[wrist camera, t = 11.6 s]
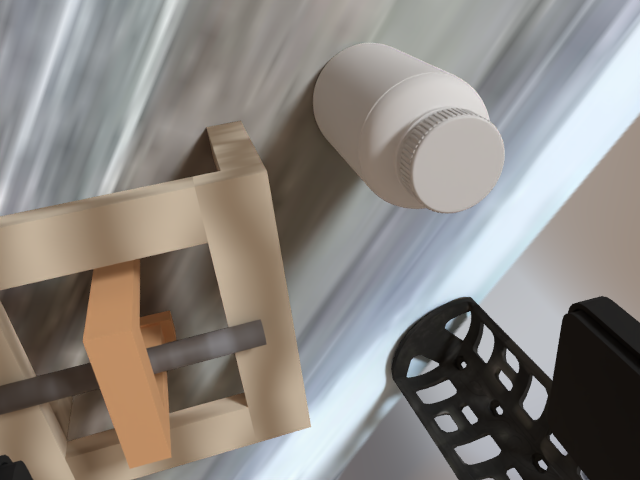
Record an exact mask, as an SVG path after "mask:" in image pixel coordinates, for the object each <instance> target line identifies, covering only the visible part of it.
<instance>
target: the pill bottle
mask: <svg viewBox="0 0 640 480" xmlns="http://www.w3.org/2000/svg"><path fill="white" fill-rule="evenodd" d="M313 110H314V116H315V119H316V122H317V124H318V126H319V129H320V130H321V132H322V134H323V135H324V137H325V138H326V139H327V140H328V141H329V143H330V144H331V145H332V146H333V147H334V148H335V149H336V150H337V152H338V153H339V154H340V155H341V156H342V157H343V158H344V160H345V161H346V162H347V163H348V164H349V165H350V166H351V168H352V169H353V170H354V171H355V172H356V173H357V174H358V175H359V177H360V178H361V179H362V180H363V181H364V182H365V183H366V185H367V186H368V187H369V188H370V189H371V190H372V191H373V192H374V193H375V194H376V195H377V196H379V197H380V198H381V199H383V200H385V201H386V202H388V203H390V204H393V205H396V206H400V207H404V208H411V209H422V208H428V209H429V210H432V211H434V212H435V211H436V212H438V213H439V212H440V213H456V212H460V211H463V210H466V209H468V208H470V207H472V206H474V205H476V204H477V203H479V202H480V201H481V200H482V199H484V198H485V197H486V196H487V195H488V194H489V193H490V191H491V190H492V189H493V187H494V186H495V184H496V183H497V181H498V179H499V177H500V175H501V172H502V169H503V165H504V157H505V152H504V143H503V139H502V138H501V135H500V134H499V133H500V132H499V131H498V130H497V128H496V127H495V125H494V124H492V123H491V122H490V120H489V116H488V112H487V110H486V107H485V105H484V103H483V101H482V99H481V98H480V96H479V95H478V93H477V92H476V91H475V90H474V88H473V87H472V86H470V85H469V84H468V83H467V82H465V81H464V80H462V79H461V78H459V77H457V76H455V75H453V74H451V73H448V72H446V71H444V70H442V69H440V68H437V67H435V66H433V65H431V64H428V63H426V62H424V61H422V60H420V59H417V58H415V57H413V56H411V55H408V54H406V53H404V52H402V51H400V50H397V49H395V48H393V47H391V46H388V45H384V44H379V43H361V44H356V45H353V46H350V47H348V48H346V49H344V50H342V51H341V52H339V53H338V54H336V55H335V56H334V57H333V58H332V59H331V60H330V61H329V62H328V63H327V64H326V66H325V67H324V68H323V70H322V71H321V73H320V75H319V77H318V79H317V82H316V85H315V89H314V94H313Z"/></svg>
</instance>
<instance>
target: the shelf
mask: <svg viewBox="0 0 640 480" xmlns="http://www.w3.org/2000/svg"><path fill="white" fill-rule="evenodd" d="M206 128H207V132H208V137H209V142H210V146H211V151H212V155H213V160H214V163H215V166H216V169H217V172H213V173H208V174H203V175H198V176H193V177H189V178H184V179H179V180H174V181H169V182H165V183H160V184H155V185H150V186H145V187H140V188H136V189H131V190H126V191H121V192H116V193H112V194H107V195H102V196H97V197H92V198H87V199H83V200H78V201H73V202H68V203H63V204H59V205H54V206H49V207H44V208H39V209H34V210H30V211H25V212H20V213H15V214H10V215H6V216H1V217H0V290H4V289H8V288H12V287H17V286H21V285H26V284H30V283H34V282H39V281H43V280H47V279H52V278H56V277H61V276H65V275H69V274H74V273H78V272H82V271H87V270H91V269H96V268H100V267H104V266H109V265H113V264H117V263H122V262H126V261H131V260H135V259H139V258H144V257H148V256H152V255H157V254H161V253H165V252H170V251H174V250H179V249H183V248H187V247H192V246H196V245H200V244H205V243H208V244H209V248H210V252H211V257H212V261H213V265H214V269H215V273H216V277H217V281H218V285H219V289H220V294H221V298H222V302H223V306H224V310H225V314H226V318H227V322H228V328H224V329H220V330H216V331H212V332H208V333H204V334H200V335H197V336H193V337H189V338H185V339H181V340H177V341H173V342H169V343H165V344H161V345H158V346H154V347H150V348H146V350H147V353H148V356H149V360H150V363H151V366H152V370H153V373H154V374H157V373H161V372H165V371H168V370H172V369H176V368H180V367H184V366H187V365H191V364H195V363H199V362H203V361H206V360H210V359H214V358H218V357H221V356H225V355H229V354H233V353H235V355H236V360H237V364H238V368H239V372H240V376H241V380H242V384H243V388H244V393H241V394H237V395H233V396H230V397H226V398H223V399H219V400H215V401H212V402H208V403H205V404H201V405H197V406H194V407H190V408H186V409H183V410H179V411H176V412H172V413H169V421H170V439H171V457H172V458H168V459H164V460H161V461H157V462H153V463H150V464H146V465H142V466H139V467H135V468H131V469H130V468H129V466H128V463H127V460H126V457H125V455H124V452H123V449H122V447H121V444H120V441H119V438H118V436H117V433H116V430H115V428H114V429H111V430H107V431H104V432H100V433H96V434H93V435H89V436H86V437H82V438H78V439H75V440H71V441H67V434H68V427H69V421H70V414H71V407H72V400H73V398H72V396H74V395H78V394H81V393H85V392H89V391H93V390H97V389H100V387H99V384H98V381H97V379H96V376H95V373H94V371H93V368H92V365H91V363H87V364H83V365H79V366H75V367H72V368H68V369H64V370H60V371H56V372H52V373H48V374H44V375H40V376H36V374H35V372H34V370H33V368H32V366H31V364H30V362H29V360H28V357H27V355H26V353H25V351H24V349H23V347H22V345H21V343H20V341H19V339H18V337H17V334H16V332H15V330H14V328H13V326H12V324H11V322H10V320H9V318H8V316H7V313H6V311H5V309H4V307H3V305H2V303H1V301H0V456H1V455H7V456H9V458H10V459H11V460H12V462H16V461H20V460H21V461H23V462H24V463H25V465H26V467H27V469H28V470H29V472H30V474H31V476H32V478H33V480H132V479H135V478H139V477H142V476H146V475H149V474H152V473H156V472H159V471H163V470H166V469H169V468H173V467H176V466H180V465H183V464H186V463H190V462H193V461H197V460H200V459H203V458H207V457H210V456H214V455H217V454H220V453H224V452H227V451H231V450H234V449H237V448H241V447H244V446H248V445H251V444H254V443H258V442H261V441H265V440H268V439H271V438H275V437H278V436H282V435H285V434H288V433H292V432H295V431H299V430H302V429H305V428H309V427H311V424H310V418H309V412H308V407H307V401H306V395H305V389H304V383H303V378H302V372H301V366H300V360H299V354H298V348H297V343H296V337H295V331H294V325H293V319H292V314H291V308H290V302H289V296H288V290H287V284H286V279H285V273H284V267H283V261H282V255H281V250H280V244H279V238H278V232H277V226H276V221H275V215H274V209H273V203H272V197H271V191H270V186H269V180H268V174H267V170H266V168H265V167H264V165H263V163H262V161H261V159H260V157H259V155H258V153H257V151H256V149H255V147H254V145H253V144H252V142H251V140H250V138H249V136H248V134H247V132H246V130H245V128H244V126H243V124H242V122H241V121H237V122H232V123H226V124H221V125H216V126H211V127H206Z"/></svg>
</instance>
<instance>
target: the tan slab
mask: <svg viewBox="0 0 640 480" xmlns="http://www.w3.org/2000/svg"><path fill="white" fill-rule="evenodd" d="M172 341H176V331H175V327H174V324H173V320H172V316H171V312H170V311H165V312H161V313H156V314H152V315H147V316H143V317H140V258H139V259H135V260H131V261H126V262H122V263H117V264H113V265H109V266H104V267H100V268H96V269H93V276H92V283H91V289H90V296H89V303H88V309H87V316H86V323H85V330H84V336H83V343H84V346H85V349H86V351H87V354H88V357H89V360H90V362H91V365H92V368H93V371H94V373H95V376H96V379H97V381H98V384H99V387H100V390H101V392H102V395H103V398H104V400H105V403H106V406H107V409H108V411H109V414H110V417H111V419H112V422H113V425H114V428H115V430H116V433H117V436H118V438H119V441H120V444H121V447H122V449H123V452H124V455H125V457H126V460H127V463H128V466H129V468H130V469H131V468H135V467H139V466H142V465H146V464H150V463H153V462H157V461H161V460H164V459H168V458H172V457H171V439H170V421H169V403H168V384H167V371H165V372H161V373H157V374H154V373H153V370H152V366H151V363H150V360H149V356H148V353H147V350H146V348H150V347H154V346H158V345H161V344H165V343H167V342H172Z"/></svg>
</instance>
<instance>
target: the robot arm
mask: <svg viewBox="0 0 640 480" xmlns="http://www.w3.org/2000/svg"><path fill="white" fill-rule="evenodd" d="M547 420H548V424H549V427H550V429H551V432H552V433H553V435H554V436H555V437H556V438H557V440H558V441H559V442H560V444H561V445H562V446H563V447H564V449H565V450H566V451H567V452H568V454H569V455H570V456H571V457H572V459H573V460H574V461H575V462H576V464H577V465H578V466H579V467H580V469H581V470H582V471H583V472H584V474H585V475H586V476H587V477H588V479H589V480H640V323H639V322H638V321H637V320H636V319H634V318H633V317H632V316H631V315H629V314H628V313H627V312H626V311H625V310H623V309H622V308H621V307H619V306H618V305H617V304H616V303H615V302H613V301H612V300H611V299H609V298H607V297H603V296H601V297H597V298H593V299H589V300H585V301H582V302H578V303H575V304H572V305H571V306H570V308H569V311H568V314H565V315H564V317H563V320H562V325H561V332H560V338H559V344H558V351H557V357H556V363H555V370H554V376H553V381H552V387H551V394H550V400H549V406H548V412H547ZM0 480H33V478H32V476H31V474H30V472H29V470H28V469H27V467H26V465H25V463H24V462H23V461H21V460H20V461H16V462H12V460H11V459H10V458H9V456H7V455H1V456H0Z"/></svg>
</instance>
